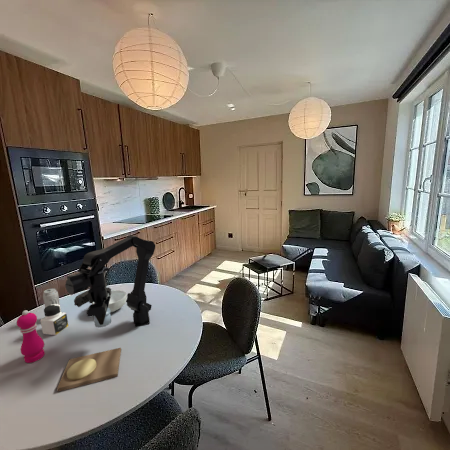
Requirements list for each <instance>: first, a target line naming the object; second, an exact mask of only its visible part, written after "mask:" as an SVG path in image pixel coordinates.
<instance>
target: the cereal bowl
mask: <svg viewBox="0 0 450 450" xmlns="http://www.w3.org/2000/svg"><path fill="white" fill-rule="evenodd" d="M111 292H112V293H111V295H110V296H111V298H110V301H109V305H108V308H110V311H111V312H110V314H111V313H114V312H115V311H117V310H119V309H121V308H122V307H124V305H125V304H126V303H127V302H126V300H127V294H128V293H127V291H124V290H120V289H115V290H111ZM108 296H109V293H108ZM92 304H94V302H93V303H91V305H92Z"/></svg>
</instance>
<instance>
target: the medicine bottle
mask: <svg viewBox="0 0 450 450" xmlns="http://www.w3.org/2000/svg"><path fill="white" fill-rule="evenodd" d="M60 307H61V304H60V305H59V304H52V305H49V306H47V307H46V308H45V307H44V308H43V313H44V317H43V318H41V319H40V325H41V331H42V334H43V335H50V336H57V335H59V334H60V333H61V332H62V331H64V330H65V329H67V328H68V327H69V321H68V316H67V312H64V311H63V312H62V308H61V309H60Z"/></svg>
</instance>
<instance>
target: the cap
mask: <svg viewBox="0 0 450 450" xmlns="http://www.w3.org/2000/svg"><path fill="white" fill-rule="evenodd" d="M110 312H111V311H110V308H107V312H106V316H105V319H104V323H103V325H100V324H99V322H98V320H97V318H96V317H95V316H92V317H93V320H94V321H93V322H94V327H96V328H104V327H107V326H109V325H110V324H111V323H112V317H111V313H112V312H111V313H110Z"/></svg>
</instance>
